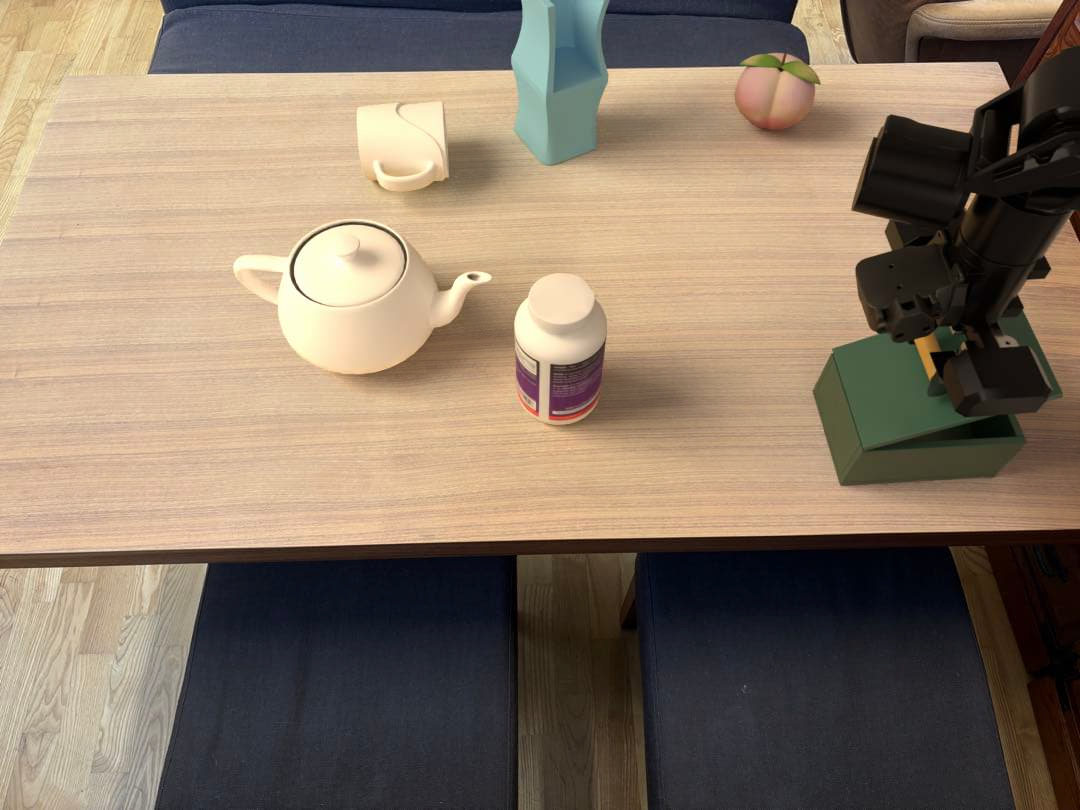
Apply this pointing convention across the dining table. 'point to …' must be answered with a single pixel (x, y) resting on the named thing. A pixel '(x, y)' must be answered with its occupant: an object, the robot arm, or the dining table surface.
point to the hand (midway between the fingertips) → (923, 368)
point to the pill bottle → (559, 349)
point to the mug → (403, 144)
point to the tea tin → (912, 444)
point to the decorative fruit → (775, 90)
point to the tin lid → (912, 382)
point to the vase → (559, 77)
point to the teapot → (356, 296)
